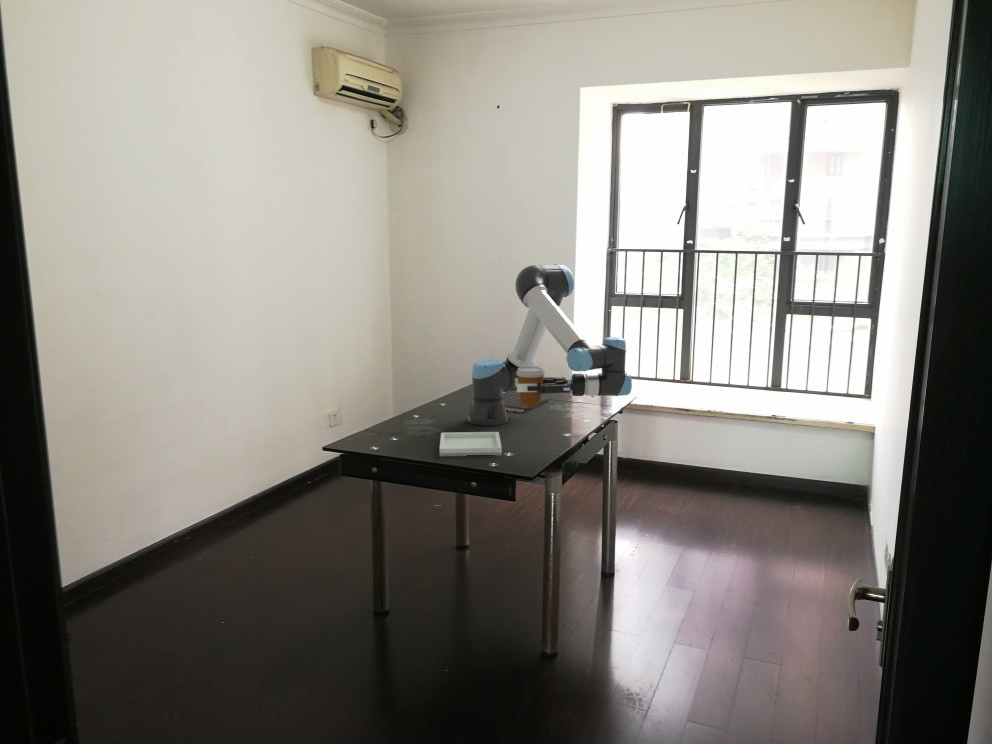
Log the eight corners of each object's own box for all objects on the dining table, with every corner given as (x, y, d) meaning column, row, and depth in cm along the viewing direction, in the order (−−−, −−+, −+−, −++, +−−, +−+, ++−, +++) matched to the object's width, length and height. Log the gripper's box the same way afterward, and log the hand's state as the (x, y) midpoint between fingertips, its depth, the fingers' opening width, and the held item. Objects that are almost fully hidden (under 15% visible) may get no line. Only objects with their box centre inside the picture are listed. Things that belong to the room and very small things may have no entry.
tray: (439, 456, 242) (439, 448, 241) (441, 439, 261) (441, 432, 261) (501, 455, 243) (501, 447, 242) (498, 438, 262) (498, 431, 262)
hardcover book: (489, 409, 308) (489, 404, 308) (515, 399, 328) (515, 394, 327) (524, 414, 300) (524, 408, 300) (549, 403, 320) (549, 397, 320)
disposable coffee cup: (545, 401, 254) (545, 366, 252) (544, 407, 245) (544, 371, 243) (517, 400, 255) (517, 366, 253) (514, 407, 246) (515, 371, 244)
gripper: (589, 402, 240) (518, 403, 239) (579, 389, 261) (513, 389, 260) (589, 379, 239) (518, 380, 238) (579, 368, 259) (513, 368, 258)
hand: (516, 385), depth 249 cm, fingers closed on disposable coffee cup, 8 cm apart
